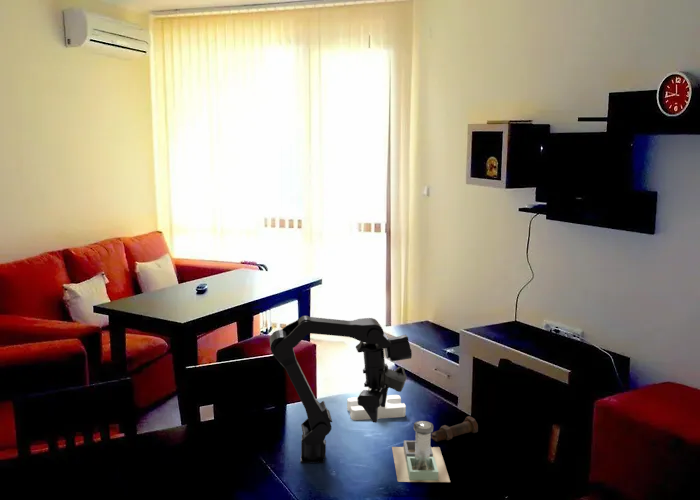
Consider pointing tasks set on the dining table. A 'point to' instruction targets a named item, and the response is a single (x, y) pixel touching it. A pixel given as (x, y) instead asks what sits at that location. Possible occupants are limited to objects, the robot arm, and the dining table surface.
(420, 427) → the silver tall tapered cylinder
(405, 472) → the dock board
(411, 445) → the holder
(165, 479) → the dining table surface
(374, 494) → the dining table surface
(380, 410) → the u-slot stand
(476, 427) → the bolt
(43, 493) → the dining table surface
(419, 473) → the socket
